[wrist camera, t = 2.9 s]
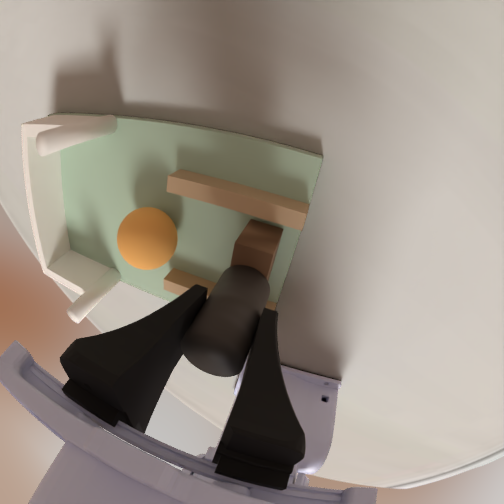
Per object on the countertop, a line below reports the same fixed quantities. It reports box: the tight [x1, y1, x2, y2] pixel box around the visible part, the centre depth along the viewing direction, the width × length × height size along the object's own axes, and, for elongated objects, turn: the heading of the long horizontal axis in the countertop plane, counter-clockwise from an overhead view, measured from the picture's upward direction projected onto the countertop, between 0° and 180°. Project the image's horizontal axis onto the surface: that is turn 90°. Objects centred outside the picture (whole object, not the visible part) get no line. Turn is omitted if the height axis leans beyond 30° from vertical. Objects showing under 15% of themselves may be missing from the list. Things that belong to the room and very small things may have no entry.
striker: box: [181, 219, 283, 377], centre depth 14 cm, size 3×5×8 cm, turn 169°
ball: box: [117, 207, 178, 270], centre depth 17 cm, size 4×4×4 cm
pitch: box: [21, 113, 323, 323], centre depth 17 cm, size 22×14×7 cm, turn 79°
